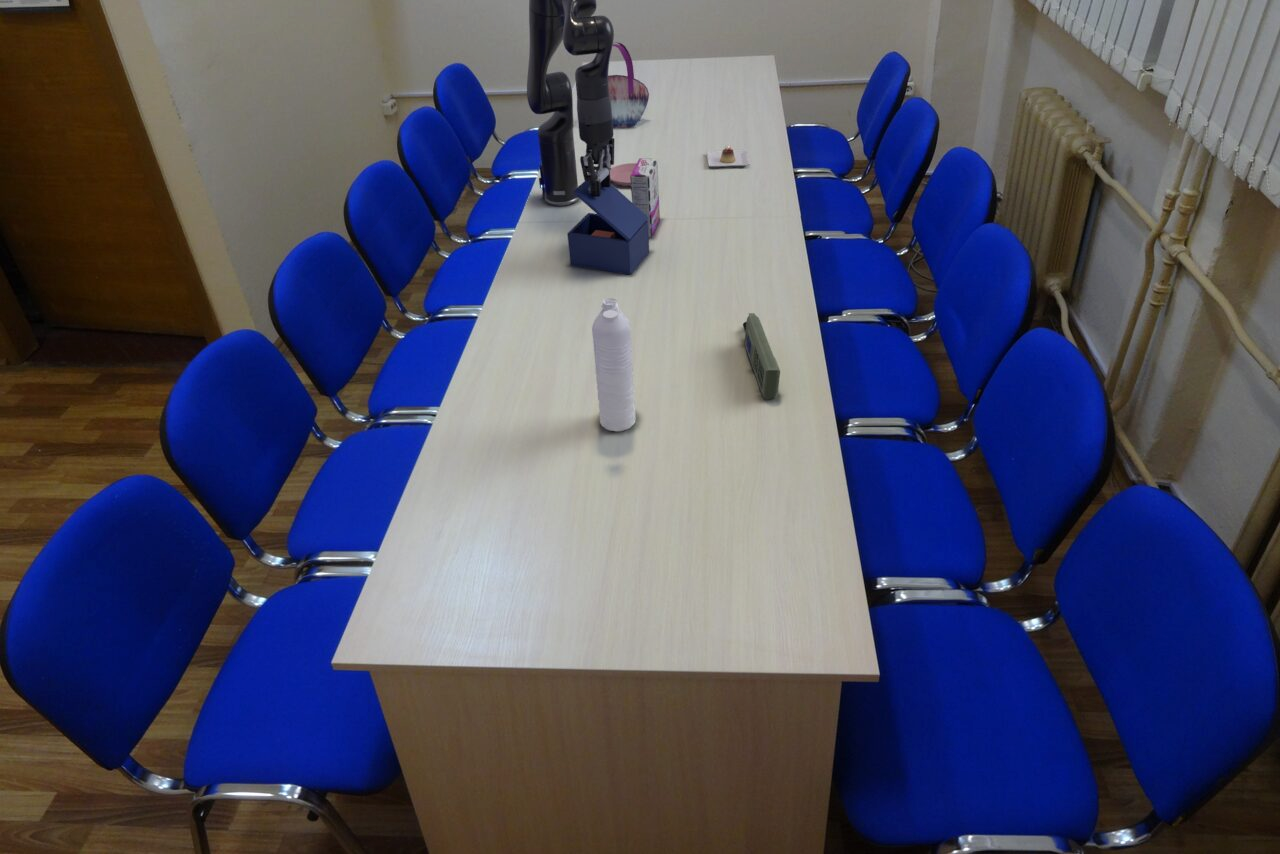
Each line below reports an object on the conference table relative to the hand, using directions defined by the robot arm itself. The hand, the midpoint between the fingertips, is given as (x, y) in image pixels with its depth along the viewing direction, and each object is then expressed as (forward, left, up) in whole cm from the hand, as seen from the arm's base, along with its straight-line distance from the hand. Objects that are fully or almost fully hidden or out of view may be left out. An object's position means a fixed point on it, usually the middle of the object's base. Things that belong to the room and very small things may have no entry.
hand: (601, 191), depth 196 cm
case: (+1, 0, -17) cm, 17 cm away
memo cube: (-1, 0, -16) cm, 16 cm away
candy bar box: (-3, +18, -17) cm, 25 cm away
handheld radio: (+55, -14, -17) cm, 59 cm away
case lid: (+2, +1, -3) cm, 4 cm away
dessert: (-14, +67, -17) cm, 71 cm away
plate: (-28, +40, -17) cm, 52 cm away
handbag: (-64, +73, -17) cm, 99 cm away
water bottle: (+47, -47, -17) cm, 68 cm away
